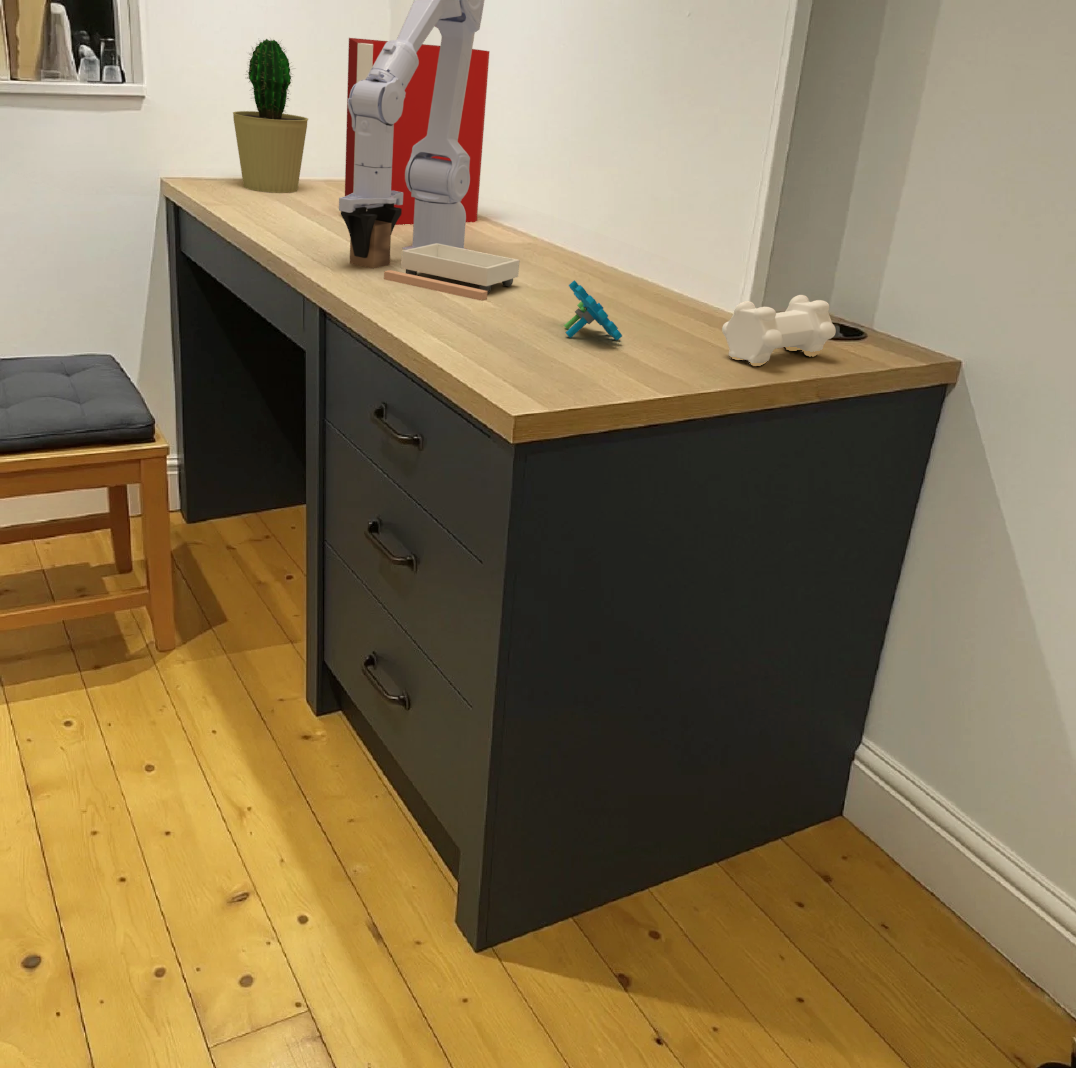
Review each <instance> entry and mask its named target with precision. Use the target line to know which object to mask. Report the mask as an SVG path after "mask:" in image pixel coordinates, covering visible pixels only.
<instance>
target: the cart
mask: <svg viewBox="0 0 1076 1068" xmlns="http://www.w3.org/2000/svg"><path fill="white" fill-rule="evenodd" d="M400 256H401V260H400V261H401V262H400V268H401V269H404V270H405V273H406V274H411V275H416V276H418V273H423V274H426V275H431V276H436V277H437V276H438V277H440V278H446V279H450V280H456V281H460V282H465V283H468V284H469V283H470V284H473V285H474V284H475V285H478V286H479V288H478V289H480V290H485V291H488V292H487V295H488V294H489V293H490V292H491V289H492V286H493V285H496V284H499V283H501V284H502V286H505V287H507V288H508V287H509V288H511V286H512V285H513V282H514V279H515V278H518V277H519V271H520V262H521V261H520V259H517V258H512V257H507V256H502V255H497V254H492V253H486V252H481V251H477V250H473V249H468V248H465V249H463V248H458V247H453V246H448V245H443V244H438V243H435V244H431V245H426V246H421V247H417V248H412V249H407V250H405V249H402V250H401V255H400Z"/></svg>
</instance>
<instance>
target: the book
mask: <svg viewBox="0 0 1076 1068" xmlns="http://www.w3.org/2000/svg"><path fill="white" fill-rule="evenodd" d="M388 41H389V40H381V39H380V40H379V39H378V40H377V39H368V38H367V39H366V38H357V37H348V55H347V56H348V57H347V61H348V62H347V90H346V92H347V95H346V97H347V98H346V135H345V136H346V137H345V138H346V141H345V173H344V174H345V176H344V197H345V196H347V195H349V194H351V193H354V164H355V163H354V162H355V131H354V130H353V127H352V117H351V114H350V112H349V108H348V99H349V96H350V92H351V89H352V87H353V86H354V85H355V84H356V83H358V82H359V81H361V80H365V79H366V77H367V75H368V74H369V72H370V70H371V68H372V67H373V65H374V63H375V61H376V59H377V58H378V56H379V54H380V52H381V51H382V49H383V47H384V45H385V44H386V42H388ZM439 52H440V45H434V44H424V43H423V44H422V45H421V47H420V48H419V50H418V51H417V53H416V54H417V57H418V60H419V64H418V67H417V69H416V71H415V72H414V74H413V76H412V78H411V80H410V81H409V83H408V85H407V87H406V89H405V93H406V94H405V98H404V102H403V111H402V114H401V117H400V118H399V119H398V121H397V122H396V123H394V133H393V157H392V180H391V191H398V192H403V205H396V204H395V205H394V207H397V208H401V209H402V214H401V216H400V217H399V219H398V221H397V222H396V224H395V226H401V225H402V226H405V224H410V225H414V206H415V197H411V192H410V191H409V189H408V187H407V185H406V181H405V170H406V166H407V164H408V162H409V160H410V157H411V153H412V148H413V146H414V145H415V144H416V143H418V142H419V141H421V140H422V139H423V138H425V137H426V136H427V131H428V124H429V118H430V111H431V105H432V98H433V91H434V85H435V78H436V72H437V65H438V59H439ZM489 63H490V50H482V49H478V48H477V49H476V48H472V53H471V60H470V66H469V72H468V79H467V85H466V91H465V98H464V104H463V110H462V116H461V123H460V129H459V135H458V143H459V144H460V145H461V147H462V148H463V149H464V150H465V151H466V153H467V154H468V155H469V157H470V163H469V174H470V184H469V188H468V191H467V193H466V195H465V196H464V197H463V198H462V199H461V204H462V205H463V207H464V209H465V212H466V223H476V222H477V221H478V210H479V198H480V196H479V195H480V185H481V183H480V182H481V171H482V158H483V157H482V156H483V144H484V143H483V142H484V129H485V117H486V104H487V90H488V79H489V78H488V77H489V75H488V74H489V65H490V64H489ZM431 158H436V159H442V160H448V161H451V159H450V158H445V157H439V156H433V157H431ZM403 224H404V225H403Z"/></svg>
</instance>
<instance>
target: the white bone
mask: <svg viewBox="0 0 1076 1068" xmlns="http://www.w3.org/2000/svg"><path fill="white" fill-rule="evenodd" d="M829 310H830V304H829V303H828V302H827V301H826V300H823V299H822V300H821V299H817V300H813V301H810V299H809V297H807V296H806V295H805V294H798V295H796V296H794V297H792V298H791V299H790V301H789V303H788V307H787V308H786V310H785V311H781V312H776V310H775V309H774V308H772V307H770V306H760V307H758V308H757V307H756V306H755V304H754V302H752V301H749V300H745V301H741V302H739V303H738V304H737V305H736V306H735V308H734V309H733V314H732V316H731V318H730V319H729V320H728V321H726V322H724V323H723V325H722V329H721V331H722V334H723V335H724V337H725V340H726V343H727V346H728V348H729V351H728V357H729V356H731V357H737V358H740V359H744V360H743V361H745V360H746V361H748V363H749V362H751V363H764V362H767V361H768V362H769V361H770V359H771V355H772V353H773V351H774V350H776V349H782V348H783V347H789V346H790V347H797V348H800V349H802V350H805V351H810V352H813V351H814V352H815V351H820V350H822V349H824V345H825V344H826V342H827V341H828V340H830V339H832V338H834V337H835V335H836V331H837V330H836V329H837V328H836V327H835V324H833V322H832V319H831V316H830V313H829ZM783 349H784V348H783ZM822 351H823V350H822ZM768 362H767V363H768Z"/></svg>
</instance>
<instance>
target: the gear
mask: <svg viewBox="0 0 1076 1068" xmlns="http://www.w3.org/2000/svg"><path fill="white" fill-rule="evenodd" d="M568 287H569V289H570V291H572V292H573V295H574V296H575V298H576V299H577V300H578V301H579V303H578V304H576V305H577V308H576V310H574V313H575V315H574V316H572V318H570V320H568V321H567V322H566V323H565V324H564V325H563V326H564V328H565V329H566V332H565V334H566V335H567V336H568V338H569V339H571V338H572V337H574V336H575V335H576V334H578V332H579V331H580V330H581V329H582V328H584V327H585V326H586V325H591V323H593V322H594V321H595V322H596V323H597V324H598V325H599V326H602V328H603V329H604V331H605V332H606V333H607V334H608V335H609V336H611V337H612V338H613V339H614V340H615V341H619V340H620V339H621V338H622V337H623V334H622V333H621V332H620V330H618V329H619V327H618V326H617V325H616V323H614V321H613V320H610V318H609V314H608V313H607V312H606V310H604V307H603V305H602V304H601V303H600V302H597V301H596V299H594V297H593V296H592V295H591V294H589V293H588V292H587V291H586V289H585V288H584V287H583V286H582V285H581V284H579V283H578V282H577V280H573V281H571V282H570V283H569V284H568Z"/></svg>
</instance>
